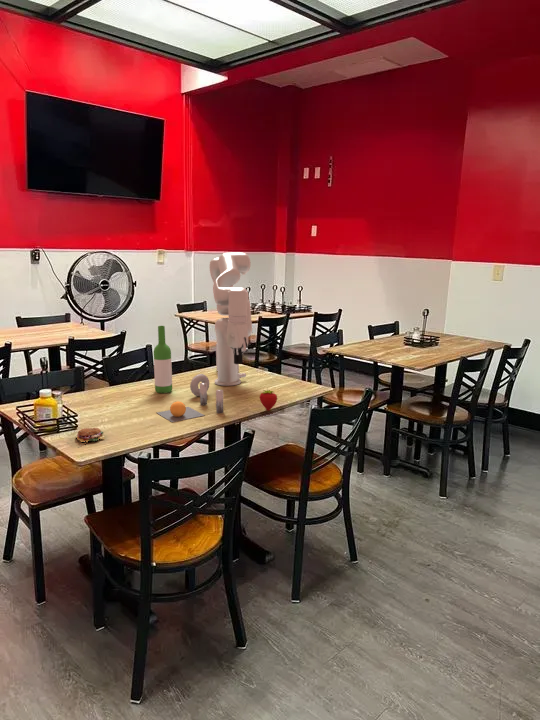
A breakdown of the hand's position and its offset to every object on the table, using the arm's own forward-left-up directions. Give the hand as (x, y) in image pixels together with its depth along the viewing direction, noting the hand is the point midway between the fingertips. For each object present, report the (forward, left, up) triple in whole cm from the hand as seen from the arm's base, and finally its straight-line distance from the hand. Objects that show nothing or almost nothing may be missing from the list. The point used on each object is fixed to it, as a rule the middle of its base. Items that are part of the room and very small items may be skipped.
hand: (238, 363), depth 222 cm
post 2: (+13, +7, -17) cm, 23 cm away
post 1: (+13, -7, -17) cm, 22 cm away
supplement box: (-26, -52, -17) cm, 61 cm away
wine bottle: (+18, -35, -17) cm, 43 cm away
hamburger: (+66, +8, -18) cm, 68 cm away
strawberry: (-4, +16, -17) cm, 24 cm away
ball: (+29, +2, -14) cm, 32 cm away
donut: (+8, -19, -17) cm, 27 cm away
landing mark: (+27, 0, -17) cm, 32 cm away
